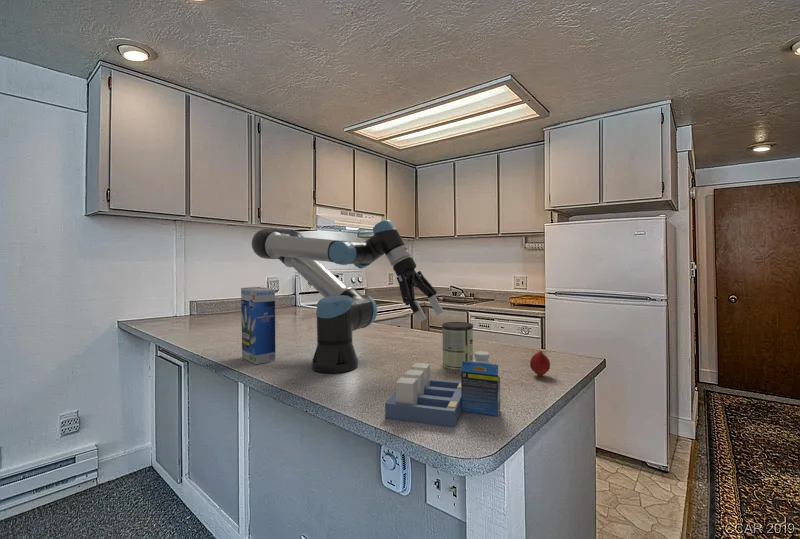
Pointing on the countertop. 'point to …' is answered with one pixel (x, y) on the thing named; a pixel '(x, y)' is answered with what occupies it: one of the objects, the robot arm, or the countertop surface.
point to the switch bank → (430, 405)
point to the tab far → (426, 371)
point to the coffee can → (457, 344)
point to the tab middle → (420, 379)
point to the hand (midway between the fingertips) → (432, 317)
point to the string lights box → (258, 324)
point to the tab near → (406, 391)
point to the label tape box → (480, 388)
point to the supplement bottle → (481, 359)
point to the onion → (540, 363)
